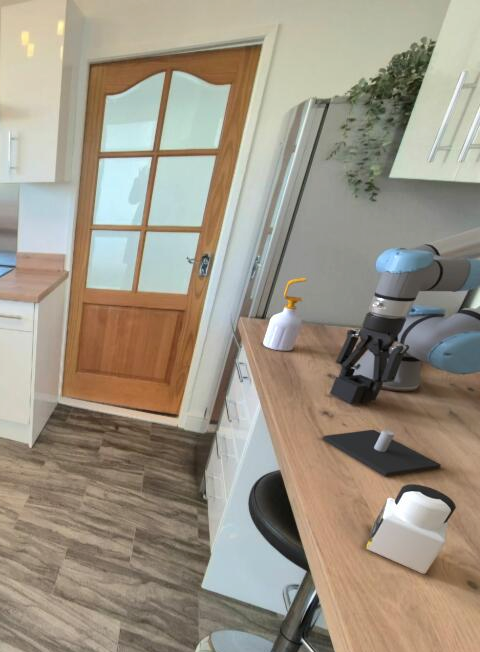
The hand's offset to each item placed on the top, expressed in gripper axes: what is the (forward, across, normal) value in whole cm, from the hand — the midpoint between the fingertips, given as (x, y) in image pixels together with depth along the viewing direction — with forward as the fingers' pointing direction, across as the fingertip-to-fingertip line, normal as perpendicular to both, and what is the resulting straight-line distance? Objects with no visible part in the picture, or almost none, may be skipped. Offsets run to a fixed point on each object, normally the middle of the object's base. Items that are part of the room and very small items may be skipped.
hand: (353, 395), depth 117 cm
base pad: (+1, +22, -18) cm, 29 cm away
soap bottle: (+1, -38, +13) cm, 40 cm away
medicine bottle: (+1, +45, -44) cm, 63 cm away
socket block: (0, 0, 0) cm, 0 cm away
